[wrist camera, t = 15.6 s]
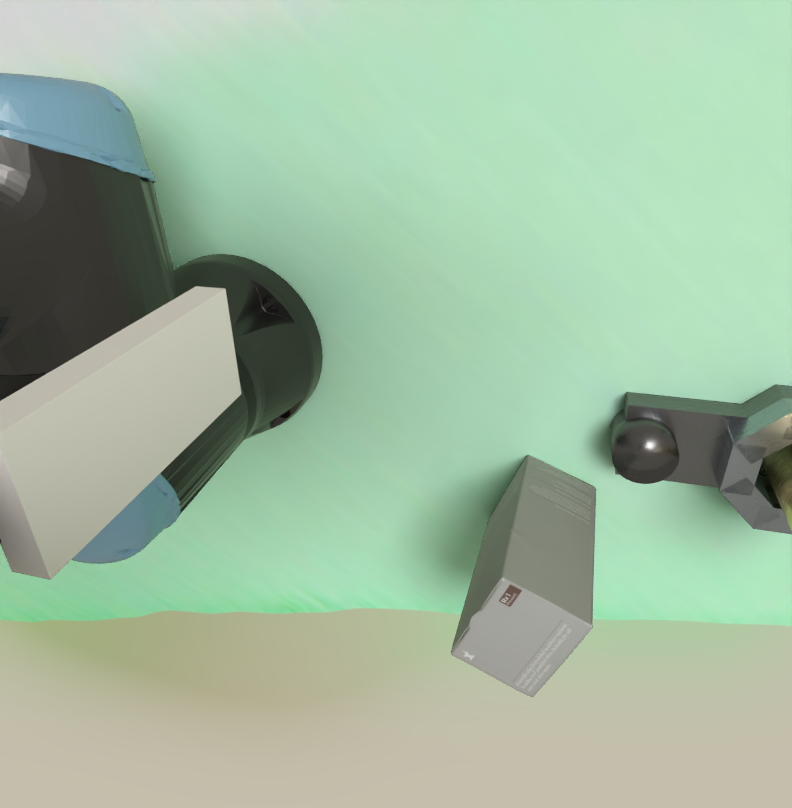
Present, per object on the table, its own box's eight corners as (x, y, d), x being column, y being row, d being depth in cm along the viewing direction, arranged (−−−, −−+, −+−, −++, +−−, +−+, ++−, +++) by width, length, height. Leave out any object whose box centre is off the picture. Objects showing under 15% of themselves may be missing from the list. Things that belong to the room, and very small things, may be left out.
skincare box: (551, 550, 55) (540, 709, 42) (478, 515, 55) (443, 661, 42) (601, 483, 50) (606, 636, 37) (521, 444, 51) (497, 583, 37)
